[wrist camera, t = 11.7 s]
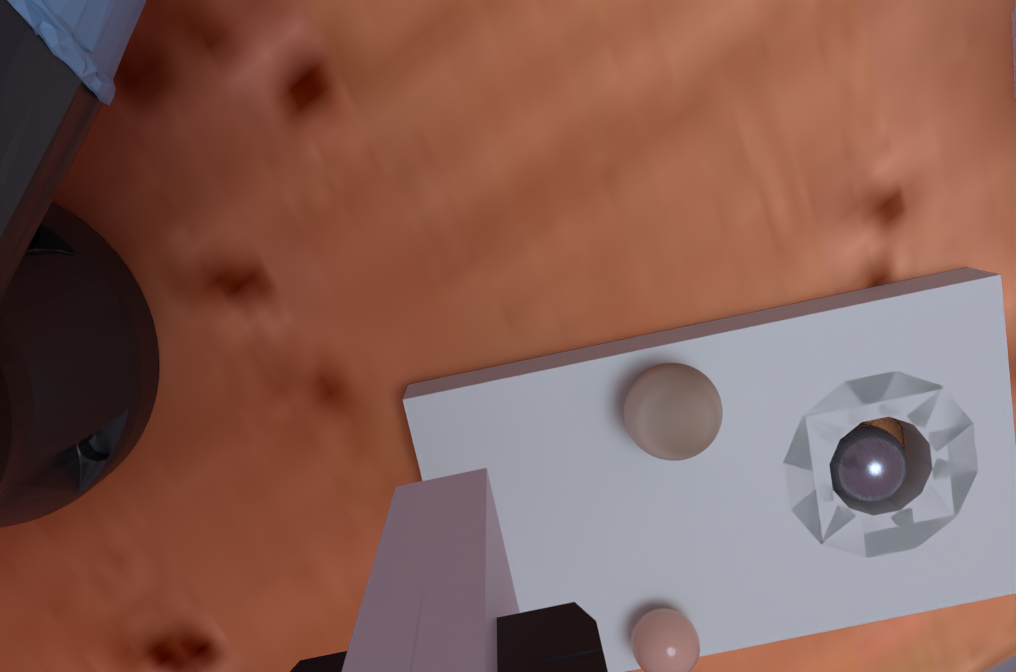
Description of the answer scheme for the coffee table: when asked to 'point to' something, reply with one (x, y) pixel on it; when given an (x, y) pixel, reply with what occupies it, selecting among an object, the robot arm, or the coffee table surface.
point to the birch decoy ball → (672, 411)
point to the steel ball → (868, 465)
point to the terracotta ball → (665, 642)
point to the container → (1014, 43)
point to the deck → (752, 468)
